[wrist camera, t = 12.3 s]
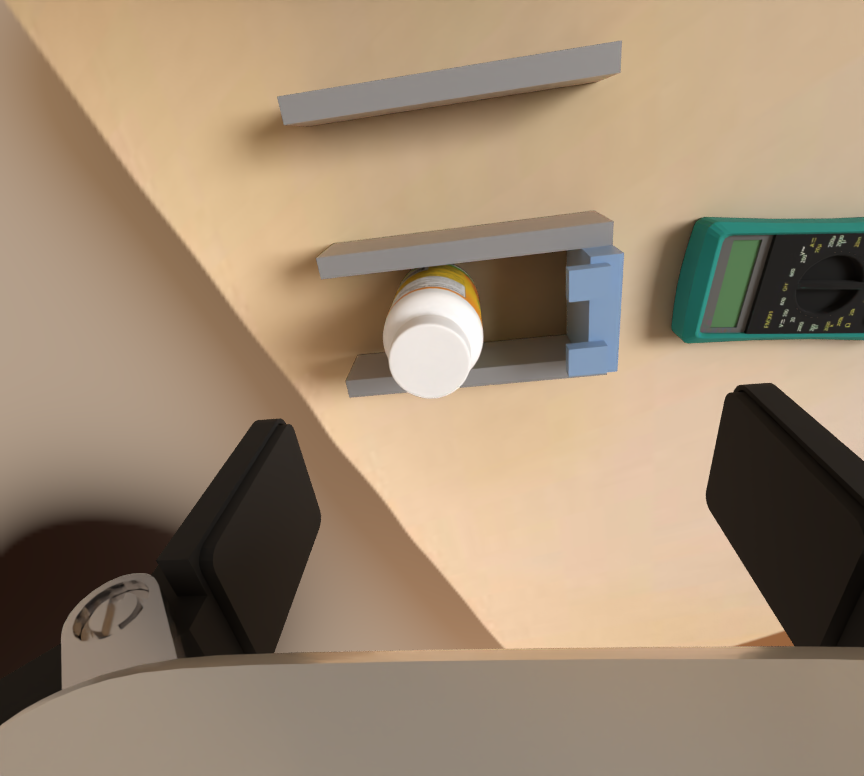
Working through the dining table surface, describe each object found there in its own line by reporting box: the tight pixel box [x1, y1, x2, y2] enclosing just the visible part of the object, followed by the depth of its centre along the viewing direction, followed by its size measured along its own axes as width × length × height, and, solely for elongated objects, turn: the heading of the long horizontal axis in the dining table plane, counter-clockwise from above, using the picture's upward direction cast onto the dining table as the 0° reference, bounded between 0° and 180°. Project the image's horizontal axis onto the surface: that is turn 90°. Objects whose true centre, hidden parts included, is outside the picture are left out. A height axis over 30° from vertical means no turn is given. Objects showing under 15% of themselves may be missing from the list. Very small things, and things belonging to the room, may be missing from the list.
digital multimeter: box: [671, 217, 864, 343], centre depth 28 cm, size 7×15×3 cm, turn 92°
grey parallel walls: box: [277, 41, 624, 397], centre depth 24 cm, size 24×16×7 cm, turn 7°
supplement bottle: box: [383, 264, 483, 398], centre depth 27 cm, size 5×5×10 cm
